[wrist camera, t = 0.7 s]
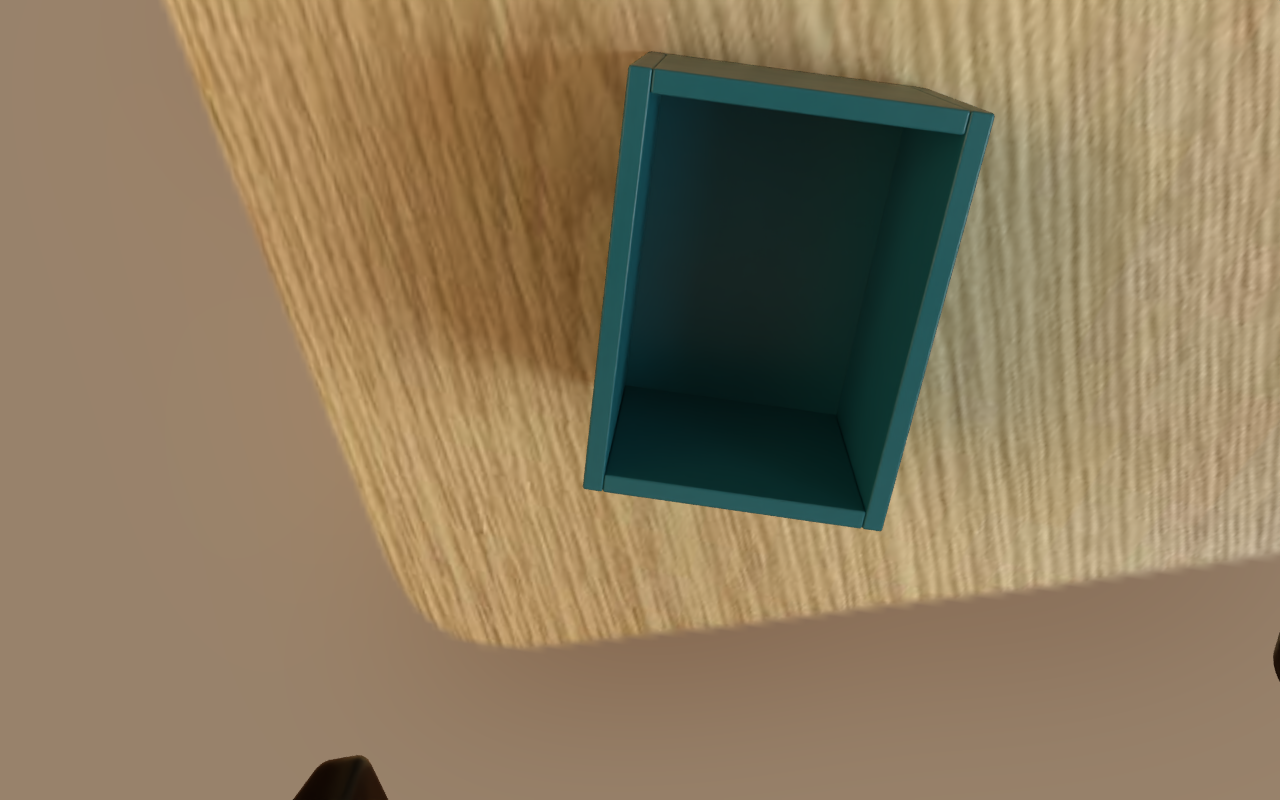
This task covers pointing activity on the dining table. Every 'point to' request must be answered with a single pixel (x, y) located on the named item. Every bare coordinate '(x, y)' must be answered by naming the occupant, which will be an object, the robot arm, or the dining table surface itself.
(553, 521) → the dining table surface
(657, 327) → the teal bin
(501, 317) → the dining table surface
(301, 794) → the robot arm
